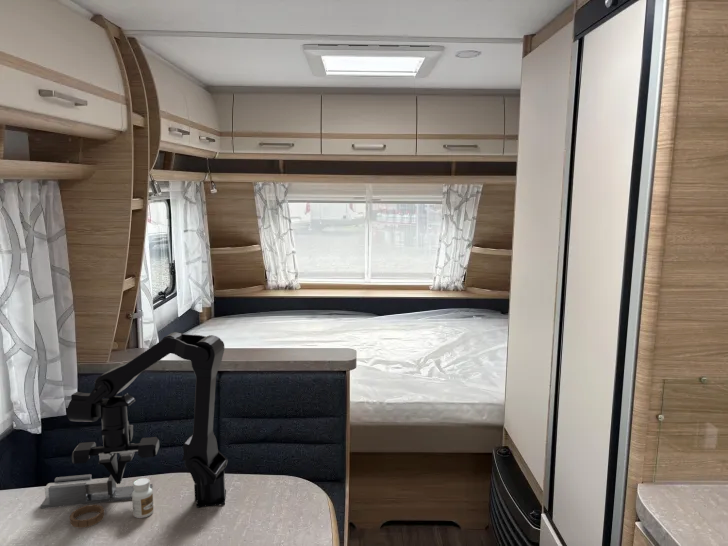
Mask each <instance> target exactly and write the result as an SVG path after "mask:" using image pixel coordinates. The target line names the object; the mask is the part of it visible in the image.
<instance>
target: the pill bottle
mask: <svg viewBox="0 0 728 546" xmlns="http://www.w3.org/2000/svg"><path fill="white" fill-rule="evenodd" d="M150 481H151V480H150V479H149V478H147V477H141V478H138V479H136V480H135V481H133V485H132V486H134V491H133V492H132V499H131V500H132V501H131V502H132V515H133V517H134V518H138V519H143V518H146V517H149V516H150V515H152V514H153V513H154V497H153V496H154V495H153V494H154V493H153V488H152V489H151V488H150V484H151V482H150Z"/></svg>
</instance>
